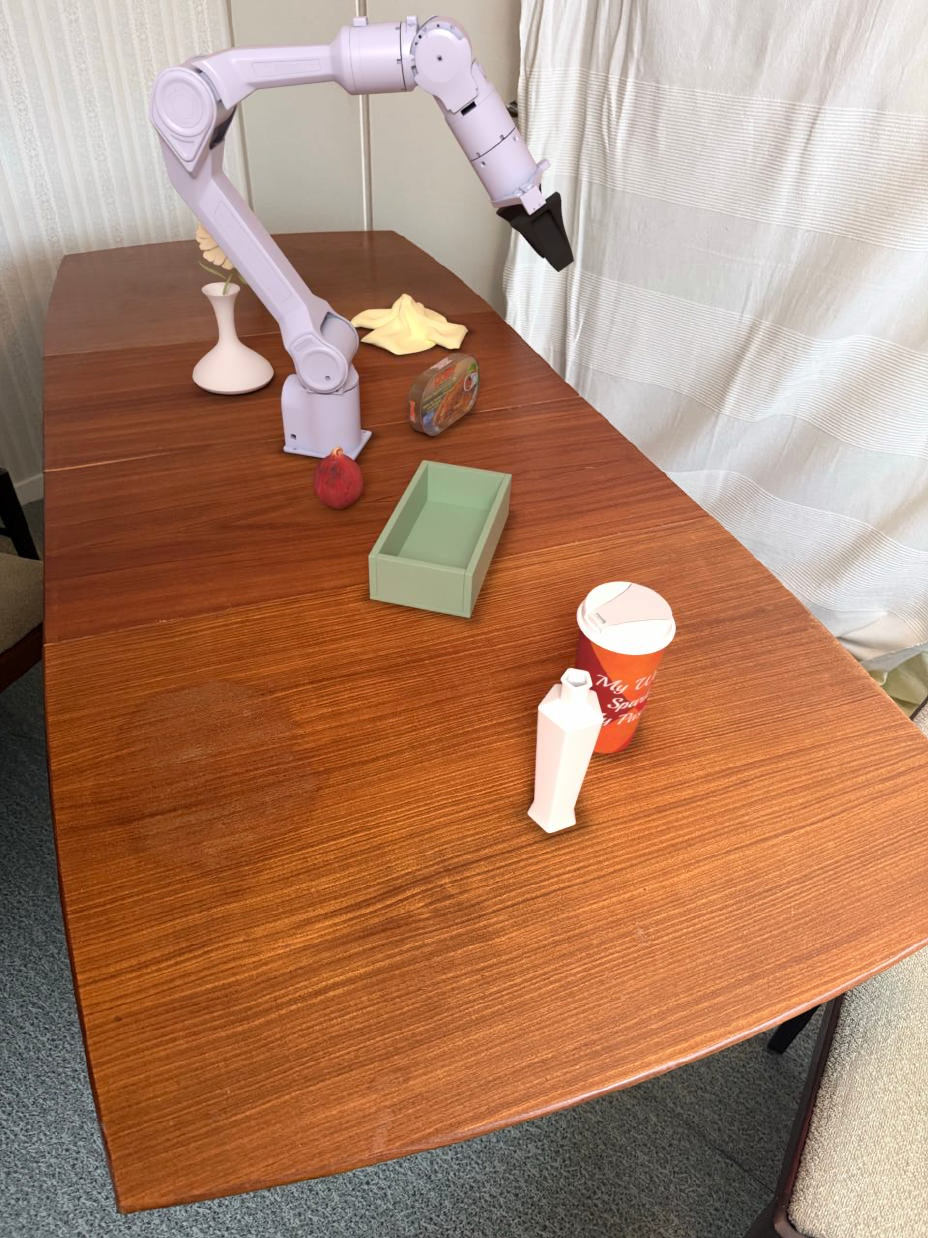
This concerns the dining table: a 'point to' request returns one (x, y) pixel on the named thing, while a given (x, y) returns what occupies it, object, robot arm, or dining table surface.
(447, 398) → the tin
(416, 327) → the cloth
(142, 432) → the dining table surface
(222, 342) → the flower in vase
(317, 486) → the pomegranate
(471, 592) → the open rectangular box
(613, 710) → the paper cup
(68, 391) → the dining table surface
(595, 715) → the white tall faceted bottle
